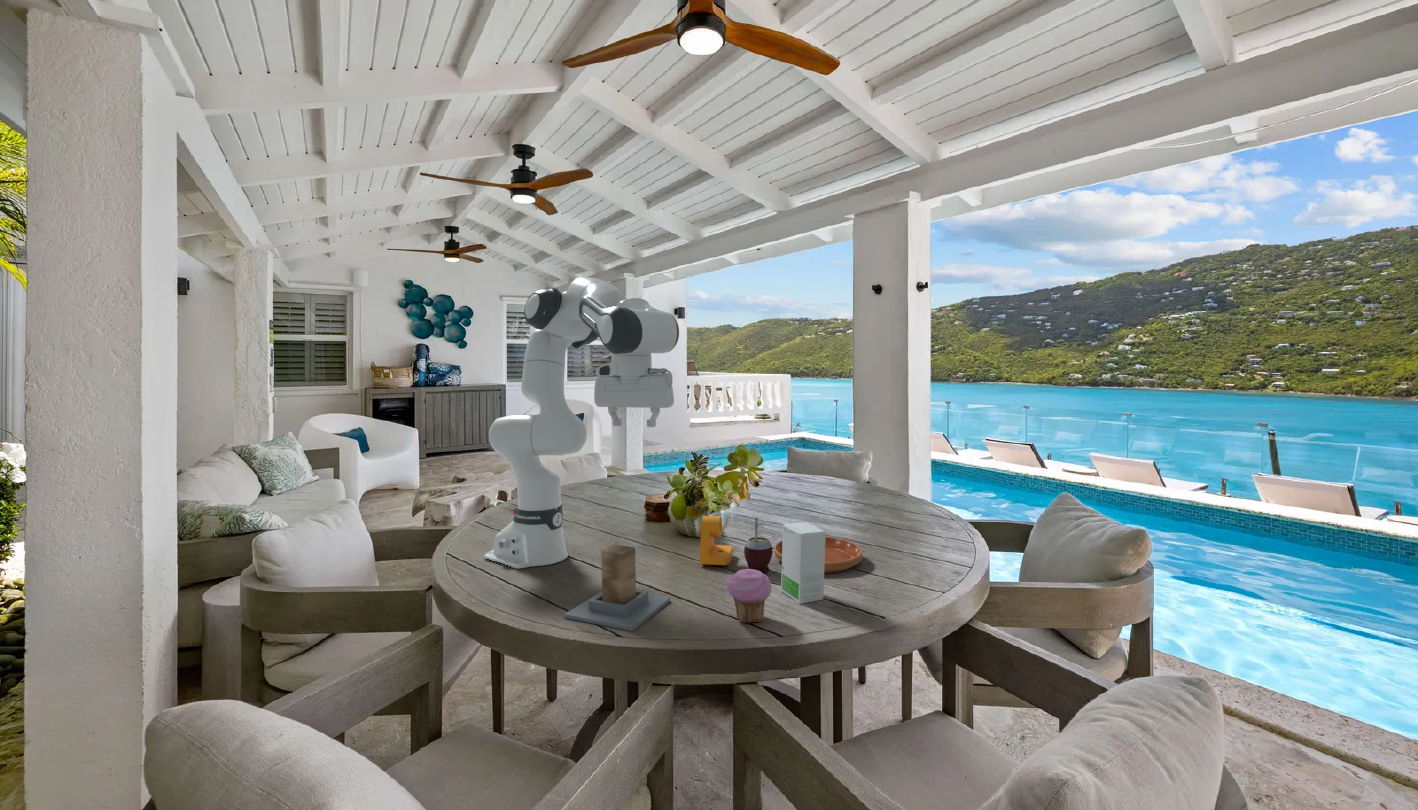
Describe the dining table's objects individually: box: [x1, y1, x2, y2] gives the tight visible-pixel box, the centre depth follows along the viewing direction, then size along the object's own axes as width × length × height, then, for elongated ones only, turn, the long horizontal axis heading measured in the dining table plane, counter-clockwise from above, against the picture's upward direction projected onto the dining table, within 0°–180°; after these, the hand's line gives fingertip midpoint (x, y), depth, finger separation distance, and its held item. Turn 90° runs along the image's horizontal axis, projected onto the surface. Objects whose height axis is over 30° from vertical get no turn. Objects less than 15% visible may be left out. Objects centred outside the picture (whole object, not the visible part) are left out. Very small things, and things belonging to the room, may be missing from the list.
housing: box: [564, 589, 671, 632], centre depth 121 cm, size 16×16×3 cm
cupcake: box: [727, 568, 772, 623], centre depth 115 cm, size 9×9×10 cm
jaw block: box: [601, 544, 637, 605], centre depth 120 cm, size 5×5×12 cm
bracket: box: [699, 515, 733, 566], centre depth 152 cm, size 11×7×12 cm, turn 170°
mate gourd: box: [743, 517, 774, 576], centre depth 143 cm, size 8×8×15 cm
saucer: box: [773, 536, 863, 574], centre depth 152 cm, size 23×23×4 cm
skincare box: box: [780, 521, 827, 605], centre depth 127 cm, size 8×7×16 cm
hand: (634, 426), depth 137 cm, fingers open, 8 cm apart
